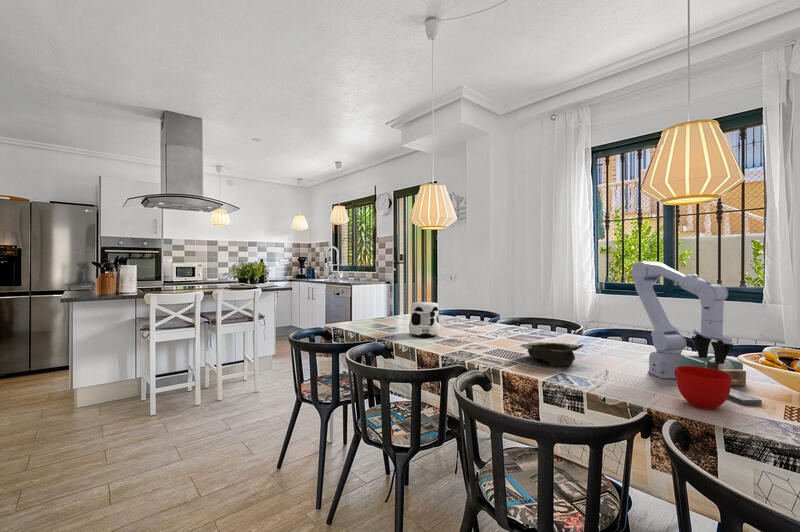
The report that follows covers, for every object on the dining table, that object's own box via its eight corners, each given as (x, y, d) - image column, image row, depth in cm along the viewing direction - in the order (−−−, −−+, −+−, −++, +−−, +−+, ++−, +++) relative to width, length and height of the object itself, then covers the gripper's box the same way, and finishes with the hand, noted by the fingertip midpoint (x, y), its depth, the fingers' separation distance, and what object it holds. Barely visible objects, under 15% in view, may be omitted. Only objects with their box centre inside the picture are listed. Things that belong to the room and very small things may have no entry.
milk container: (424, 331, 225) (425, 301, 225) (446, 336, 212) (446, 303, 212) (402, 335, 214) (402, 303, 214) (423, 340, 201) (423, 306, 201)
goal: (700, 381, 135) (701, 362, 135) (679, 373, 145) (680, 354, 145) (742, 381, 136) (742, 362, 136) (718, 373, 146) (719, 355, 146)
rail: (741, 404, 114) (742, 399, 114) (693, 384, 132) (693, 380, 132) (761, 404, 114) (761, 400, 114) (710, 384, 132) (710, 380, 132)
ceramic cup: (694, 393, 124) (695, 362, 124) (743, 414, 107) (744, 379, 107) (656, 393, 123) (656, 362, 123) (698, 414, 107) (699, 379, 106)
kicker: (713, 390, 125) (713, 364, 125) (696, 383, 132) (696, 358, 132) (759, 390, 125) (760, 364, 125) (740, 383, 132) (741, 359, 132)
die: (711, 385, 134) (734, 366, 130) (692, 367, 141) (713, 349, 137) (725, 390, 137) (747, 372, 133) (705, 372, 144) (726, 355, 140)
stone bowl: (575, 373, 143) (574, 349, 143) (511, 367, 158) (510, 344, 159) (589, 359, 163) (587, 337, 163) (531, 354, 178) (529, 334, 178)
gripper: (742, 324, 120) (741, 367, 121) (708, 317, 135) (707, 355, 135) (718, 323, 121) (717, 366, 121) (687, 316, 135) (686, 354, 136)
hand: (711, 360), depth 128 cm, fingers open, 7 cm apart
